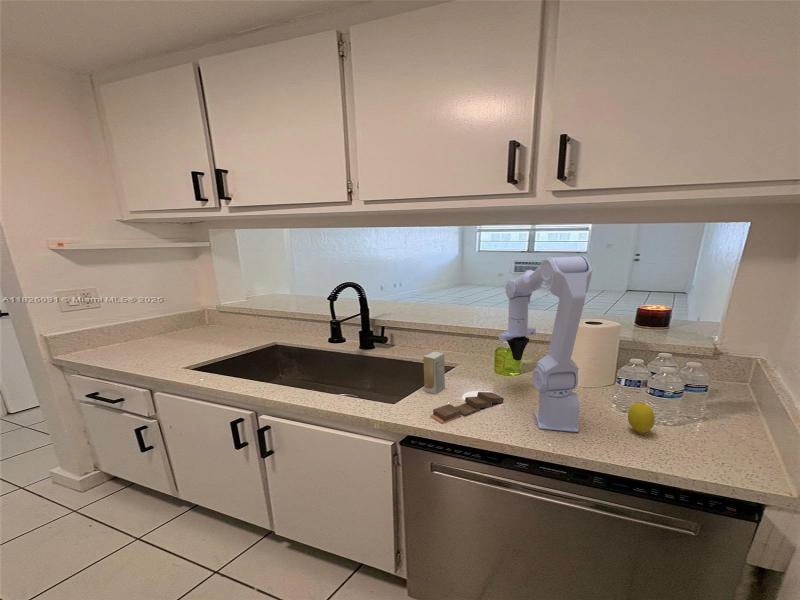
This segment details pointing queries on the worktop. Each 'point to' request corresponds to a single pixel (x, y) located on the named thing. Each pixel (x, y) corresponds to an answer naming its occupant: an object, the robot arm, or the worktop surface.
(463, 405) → the domino
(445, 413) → the domino
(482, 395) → the domino
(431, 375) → the skincare box
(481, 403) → the domino
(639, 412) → the lemon
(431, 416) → the domino
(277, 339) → the worktop surface
